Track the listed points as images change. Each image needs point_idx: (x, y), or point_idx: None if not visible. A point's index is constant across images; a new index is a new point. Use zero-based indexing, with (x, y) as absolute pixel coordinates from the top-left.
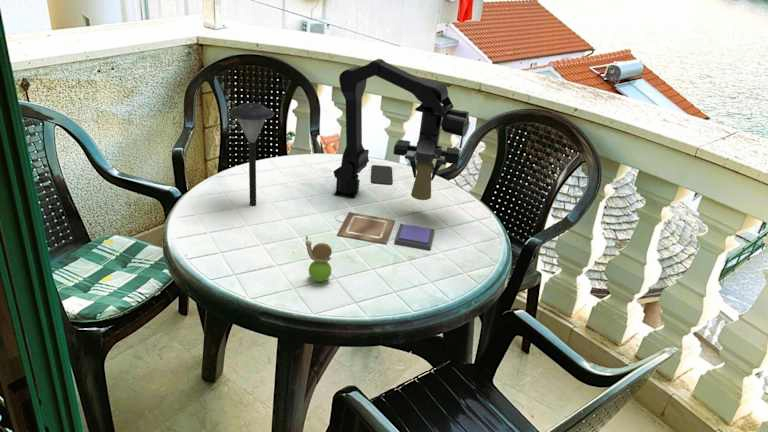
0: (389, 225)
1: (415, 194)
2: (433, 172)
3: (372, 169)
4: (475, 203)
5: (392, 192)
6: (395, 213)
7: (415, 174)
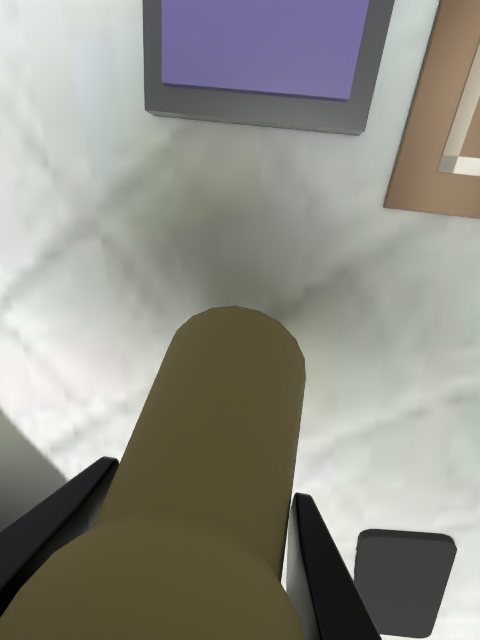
0: (434, 117)
1: (276, 339)
2: (16, 561)
3: (432, 616)
4: (34, 438)
5: (365, 480)
6: (370, 299)
7: (302, 532)
